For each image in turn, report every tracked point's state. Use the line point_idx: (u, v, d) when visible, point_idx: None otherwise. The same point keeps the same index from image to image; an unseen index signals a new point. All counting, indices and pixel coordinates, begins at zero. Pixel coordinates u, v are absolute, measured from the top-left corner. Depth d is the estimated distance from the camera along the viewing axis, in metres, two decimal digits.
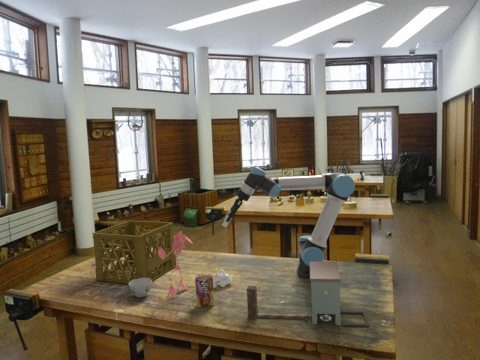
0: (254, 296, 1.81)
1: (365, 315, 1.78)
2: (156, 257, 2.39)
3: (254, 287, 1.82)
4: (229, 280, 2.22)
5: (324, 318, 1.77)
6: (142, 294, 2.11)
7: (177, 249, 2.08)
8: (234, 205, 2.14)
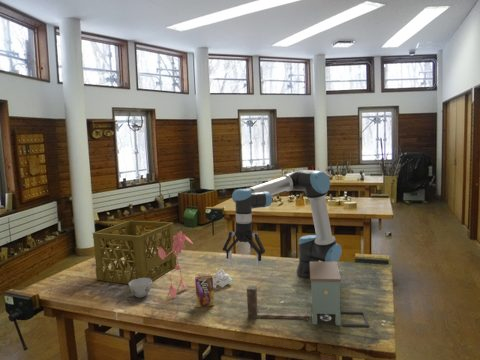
0: (254, 296, 1.81)
1: (365, 315, 1.78)
2: (156, 257, 2.39)
3: (254, 287, 1.82)
4: (229, 280, 2.22)
5: (324, 318, 1.77)
6: (142, 294, 2.11)
7: (177, 249, 2.08)
8: (251, 242, 1.82)
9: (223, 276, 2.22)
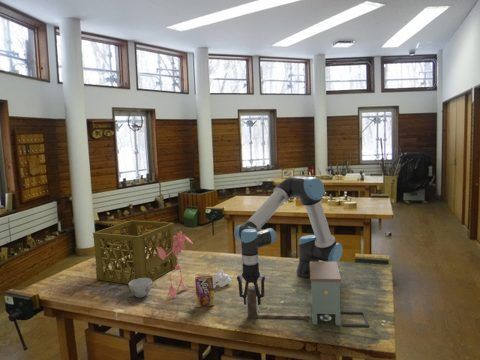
0: (254, 296, 1.81)
1: (365, 315, 1.78)
2: (155, 257, 2.39)
3: (254, 287, 1.82)
4: (228, 280, 2.21)
5: (324, 318, 1.77)
6: (142, 294, 2.11)
7: (177, 249, 2.08)
8: (256, 284, 1.80)
9: (222, 276, 2.21)
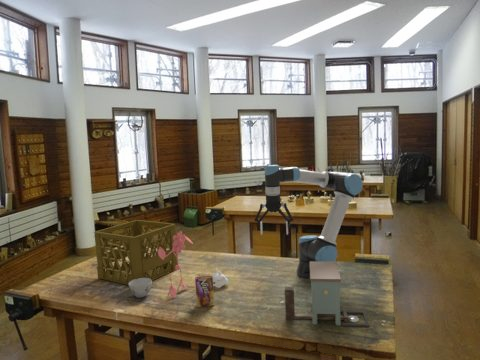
0: (292, 297, 1.78)
1: (365, 315, 1.78)
2: (154, 259, 2.37)
3: (292, 288, 1.80)
4: (225, 281, 2.20)
5: (351, 319, 1.75)
6: (142, 294, 2.11)
7: (177, 249, 2.08)
8: (281, 211, 2.04)
9: (219, 277, 2.20)
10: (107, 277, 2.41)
